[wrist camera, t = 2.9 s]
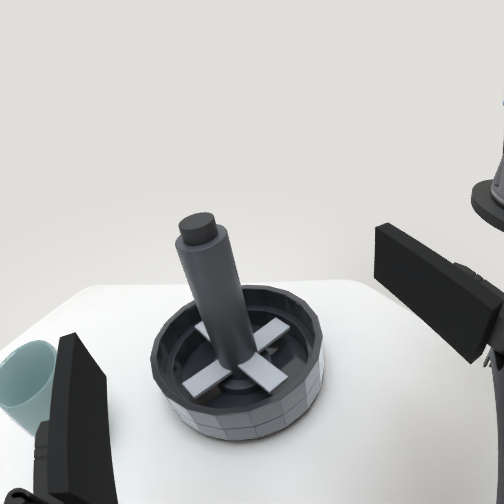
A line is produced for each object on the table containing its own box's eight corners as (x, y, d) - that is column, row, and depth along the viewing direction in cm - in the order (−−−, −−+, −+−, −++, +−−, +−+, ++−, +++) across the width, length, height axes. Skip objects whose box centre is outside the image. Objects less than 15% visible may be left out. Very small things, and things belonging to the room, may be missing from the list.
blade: (250, 315, 35) (217, 179, 27) (327, 365, 28) (317, 205, 19) (167, 370, 30) (100, 235, 22) (232, 444, 22) (157, 298, 14)
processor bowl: (284, 306, 37) (278, 268, 34) (352, 401, 25) (356, 364, 22) (162, 350, 34) (144, 315, 31) (190, 466, 22) (164, 440, 19)
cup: (127, 439, 24) (67, 375, 19) (68, 478, 20) (-3, 423, 15) (96, 392, 30) (46, 327, 25) (45, 426, 26) (-12, 367, 20)
